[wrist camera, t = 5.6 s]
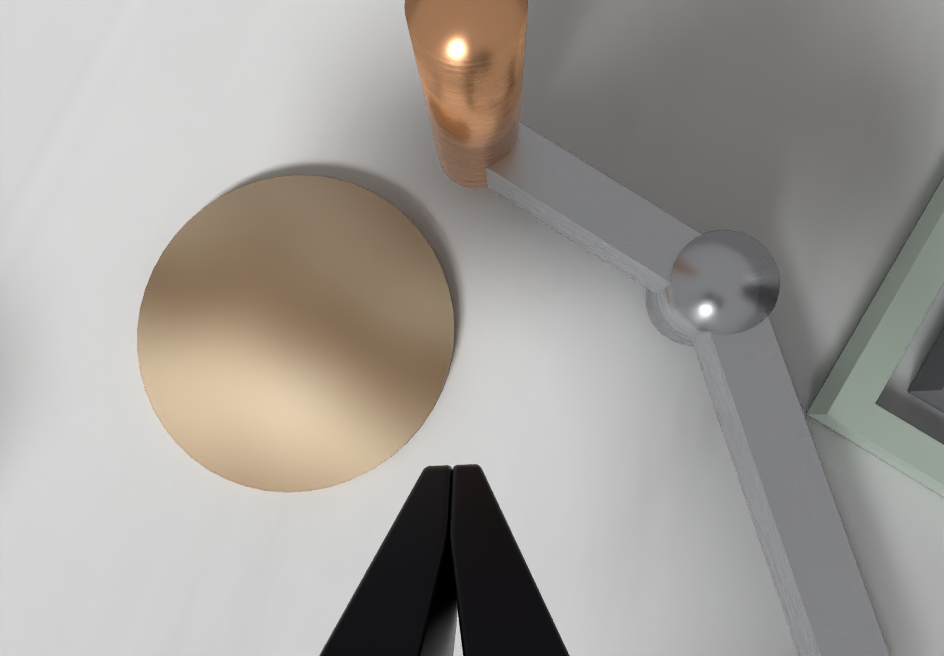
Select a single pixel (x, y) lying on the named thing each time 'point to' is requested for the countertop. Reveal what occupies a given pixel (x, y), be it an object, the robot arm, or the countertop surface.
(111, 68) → the countertop surface
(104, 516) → the countertop surface
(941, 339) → the plug
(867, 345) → the socket frame
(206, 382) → the coaster
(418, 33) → the grey rod with hub
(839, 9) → the countertop surface
